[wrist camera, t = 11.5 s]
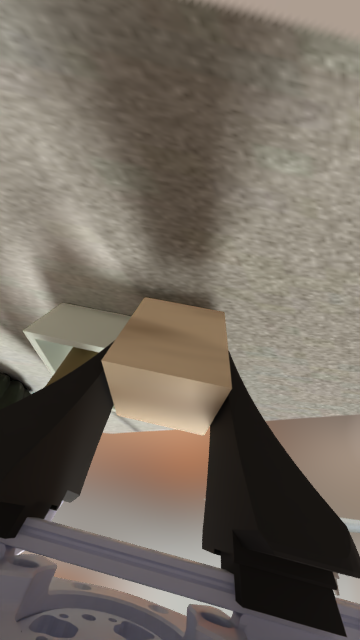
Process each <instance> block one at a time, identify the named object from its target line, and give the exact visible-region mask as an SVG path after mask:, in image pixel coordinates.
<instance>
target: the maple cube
mask: <svg viewBox="0 0 360 640" xmlns="http://www.w3.org/2000/svg"><path fill="white" fill-rule="evenodd" d="M101 361H102V365H103V368H104V372H105V375H106V379H107V382H108V385H109V389H110V392H111V396H112V399H113V403H114V406H115V410H116V413H117V416H122V417H126V418H130V419H135V420H139V421H143V422H148V423H152V424H156V425H160V426H165V427H169V428H173V429H178V430H182V431H186V432H191V433H195V434H199V435H204V434H205V433H206V431H207V429H208V428H209V426H210V424H211V423H212V421H213V419H214V418H215V416H216V414H217V413H218V411H219V409H220V408H221V406H222V404H223V403H224V401H225V399H226V398H227V396H228V394H229V393H230V391H231V389H232V383H231V373H230V363H229V353H228V343H227V333H226V323H225V313H224V312H221V311H216V310H211V309H205V308H200V307H195V306H189V305H184V304H179V303H174V302H168V301H163V300H158V299H152V298H147V297H144V299H143V300H142V302H141V303H140V305H139V306H138V308H137V309H136V311H135V312H134V313H133V315H132V316H131V318H130V319H129V321H128V322H127V324H126V325H125V327H124V328H123V329H122V331H121V332H120V334H119V335H118V337H117V338H116V340H115V341H114V343H113V344H112V346H111V347H110V348H109V350H108V351H107V353H106V354H105V356H104V357H103V359H102V360H101Z"/></svg>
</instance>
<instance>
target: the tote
mask: <svg viewBox="0 0 360 640" xmlns="http://www.w3.org/2000/svg"><path fill="white" fill-rule="evenodd" d="M130 318H131V316H128V315H123V314H118V313H113V312H108V311H103V310H98V309H93V308H87V307H82V306H77V305H72V304H67V303H61V304H60V305H58V306H57V307H55V308H54V309H53V310H51V311H50V312H48V313H47V314H45V315H44V316H43V317H41V318H40V319H38V320H37V321H35V322H34V323H33V324H31V325H30V326H28V327H27V328H26V329H24V330H23V332H24V334H25V335H26V337H27V338H28V340H29V341H30V343H31V344H32V346H33V347H34V349H35V351H36V352H37V354H38V355H39V357H40V358H41V360H42V361H43V363H44V364H45V366H46V367H47V369H48V370H49V372H50V373H51V375H52V376H53V375H54V374H55V372H56V371H57V369H58V368H59V366H60V365H61V363H62V362H63V361H64V359H65V358H66V356H67V355H68V353H69V352H70V351H71V349H72V348H73V347H76V348H81V349H85V350H90V351H95V352H100V351H102V350H103V349H104V348H106V347H107V346H108V345H109V344H111V343H112V342H113V341H114V340H116V338H117V337H118V335H119V334H120V332H121V331H122V329H123V328H124V327H125V325H126V324H127V322H128V321H129V319H130ZM111 411H114V412H116V410H115V406H113V408H112V410H111Z"/></svg>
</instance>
